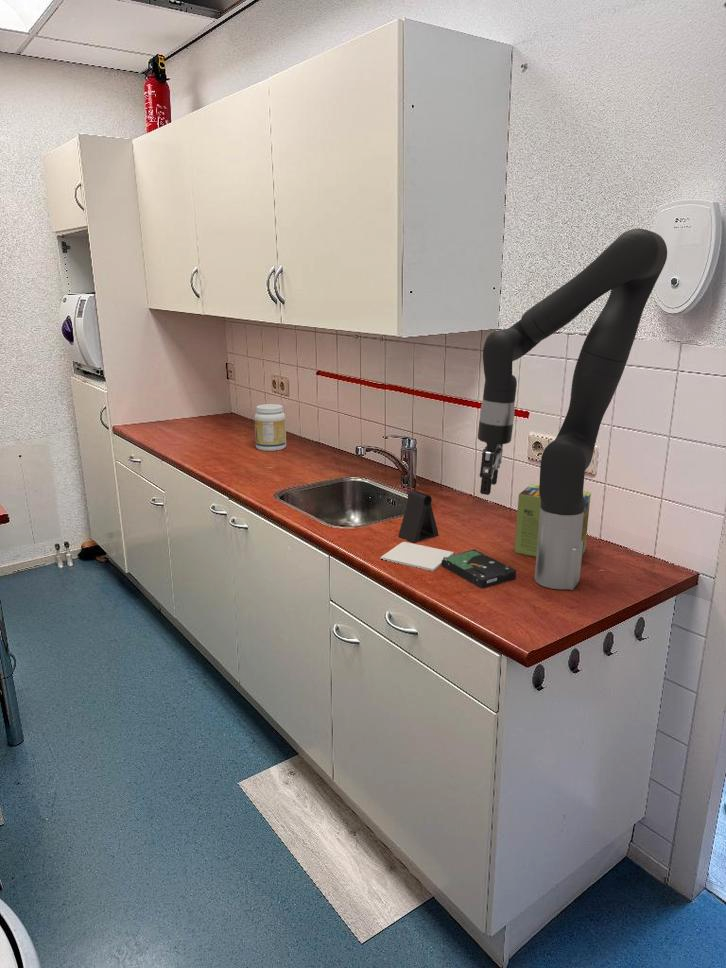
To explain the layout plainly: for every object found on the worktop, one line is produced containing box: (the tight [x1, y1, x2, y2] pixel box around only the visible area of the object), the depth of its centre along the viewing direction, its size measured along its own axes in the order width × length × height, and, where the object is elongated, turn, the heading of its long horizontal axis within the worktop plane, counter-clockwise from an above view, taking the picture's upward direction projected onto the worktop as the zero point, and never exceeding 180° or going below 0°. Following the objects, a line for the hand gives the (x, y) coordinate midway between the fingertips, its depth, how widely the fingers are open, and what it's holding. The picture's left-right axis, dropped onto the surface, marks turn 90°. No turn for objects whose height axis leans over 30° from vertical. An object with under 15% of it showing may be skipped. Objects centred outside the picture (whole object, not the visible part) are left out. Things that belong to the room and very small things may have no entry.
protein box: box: [513, 483, 592, 558], centre depth 170 cm, size 10×15×16 cm
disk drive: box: [441, 549, 517, 589], centre depth 160 cm, size 10×3×15 cm
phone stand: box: [397, 489, 440, 544], centre depth 181 cm, size 9×6×12 cm, turn 129°
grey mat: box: [380, 541, 455, 572], centre depth 168 cm, size 14×12×1 cm
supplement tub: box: [254, 403, 287, 452], centre depth 274 cm, size 12×12×17 cm
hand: (488, 488), depth 160 cm, fingers open, 8 cm apart
